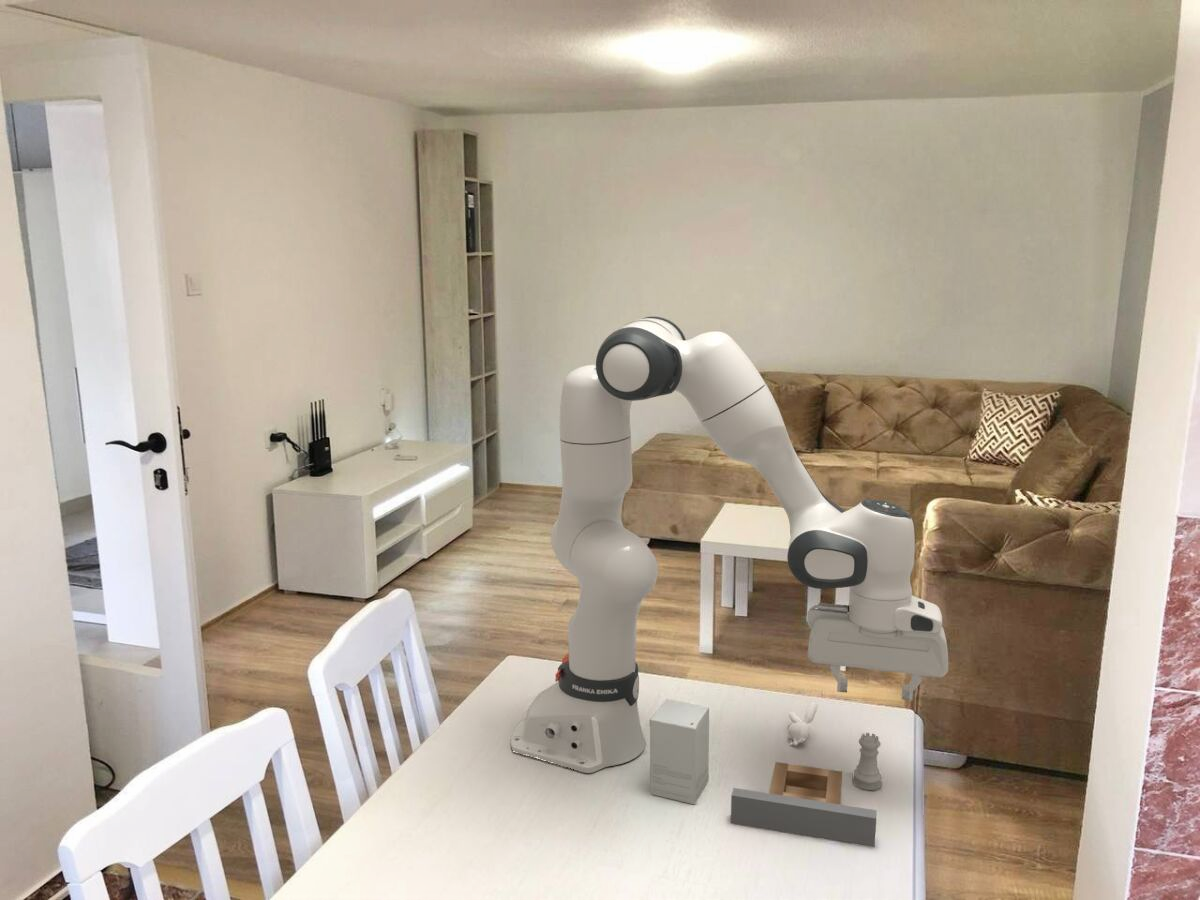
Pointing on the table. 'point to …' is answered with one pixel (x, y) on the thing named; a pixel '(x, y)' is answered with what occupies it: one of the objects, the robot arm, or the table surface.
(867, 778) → the rook chess piece
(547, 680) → the table surface
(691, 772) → the supplement box
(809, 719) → the rabbit figurine
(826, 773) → the socket block
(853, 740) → the table surface
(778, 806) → the backstop board
